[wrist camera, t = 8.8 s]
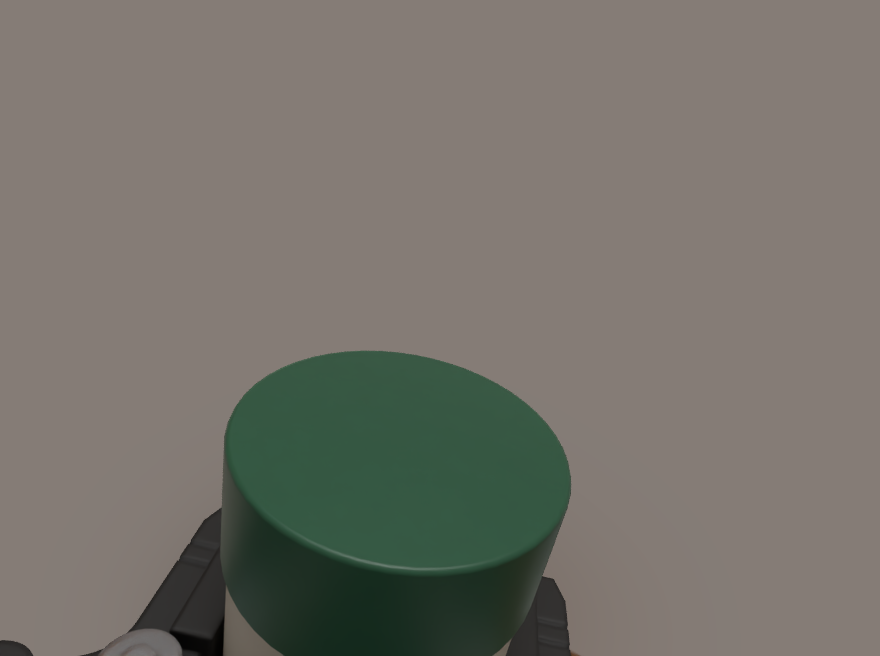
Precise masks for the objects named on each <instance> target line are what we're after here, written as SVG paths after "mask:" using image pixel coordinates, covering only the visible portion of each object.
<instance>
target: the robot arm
mask: <svg viewBox="0 0 880 656" xmlns="http://www.w3.org/2000/svg"><path fill="white" fill-rule="evenodd" d="M221 517H222V508H220V509H219V510H218V511H216V512H215V513H213V514H212V515H211V516H209V517H208V518H207V519H205V520H204V521H203V523H202V525H201V526H200V527H199V529H198V530H197V532H196V533H195V535H194V536H193V538H192V539H191V542H190V544H188V545H187V547H186V548H185V550H184V551H183V553H182V554H181V556H180V559H179V561H177V562H176V563H175V565H174V566H173V568H172V570H171V571H170V572H169V574H168V575H167V577H166V579H165V580H164V581H163V583H162V585H161V586H160V588H159V589H158V591H157V592H156V594H155V595H154V597H153V598H152V600H151V601H150V603H149V604H148V606H147V607H146V609H145V610H144V612H143V613H142V615H141V616H140V618H139V619H138V621H137V622H136V623H135V625H134V626H133V627H132V628H131V629H130V630H129V631H128V632H127V633H126V634H124V635H122V636H120V637H118V638H117V639H115V640H114V641H112V642H111V643H109V644H108V645H107V646H106V647H105V648H104V649H102V650H99V651H97V652H94V653H90V654H86V655H82V656H223V645H224V622H225V599H226V583H225V580H224V577H223V572H222V566H221V559H220V547H221ZM567 626H568V623H567V613H566V604H565V600H564V598H563V596H562V594H561V592H560V590H559V588H558V586H557V585H556V583H555V581H554V579H551V578H547V577H543V576H542V578H541V581H540V583H539V586H538V589H537V592H536V594H535V597H534V600H533V602H532V605H531V607H530V609H529V612H528V614H527V616H526V618H525V620H524V622H523V623H522V625H521V626H520V628H519V629H518V631H517V632H516V634H515V635H514V636H513V637H512V639H511V642H510V645H509V647H508V650H507V653H506V656H571V653H570V650H569V645H570V643H569V633H568V630H567ZM0 656H33V654H32V653H31V651H30V650H29V649H28V648H27V647H26V646H25V645H23V644H21V643H18V642H14V641H5V640H2V641H0Z"/></svg>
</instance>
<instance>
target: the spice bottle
mask: <svg viewBox="0 0 880 656" xmlns="http://www.w3.org/2000/svg"><path fill="white" fill-rule="evenodd" d="M570 494H571V476H570V470H569V465H568V461H567V458H566V455H565V453H564V450H563V447H562V446H561V444H560V442H559V440H558V439H557V437H556V435H555V434H554V432H553V431H552V430H551V428H550V427H549V426H548V424H547V423H546V422H545V421H544V420H543V419H542V418H541V417H540V416H539V415H538V414H537V412H535V411H534V410H533V409H532V408H531V407H530V406H529V405H528V404H526V403H525V402H524V401H522V400H521V399H520V398H518V397H517V396H516V395H514V394H513V393H512V392H510V391H508V390H507V389H505V388H503V387H502V386H500V385H499V384H497V383H495V382H493V381H491V380H489V379H487V378H485V377H483V376H481V375H479V374H476V373H474V372H472V371H469V370H467V369H464V368H461V367H458V366H456V365H453V364H450V363H446V362H443V361H439V360H435V359H432V358H427V357H422V356H418V355H412V354H405V353H398V352H386V351H350V352H339V353H331V354H325V355H320V356H316V357H311V358H308V359H304V360H301V361H298V362H295V363H292V364H290V365H287V366H285V367H283V368H280V369H279V370H277V371H275V372H273V373H271V374H269V375H268V376H266V377H265V378H263V379H262V380H261V381H259V382H258V383H256V384H255V385H254V386H253V387H252V388H251V389H250V390H249V391H248V392H247V393H246V394H245V395H244V396H243V397H242V399H241V400H240V401H239V403H238V404H237V406H236V407H235V409H234V411H233V413H232V415H231V417H230V419H229V421H228V424H227V428H226V433H225V436H224V463H223V490H222V517H221V547H220V559H221V566H222V572H223V577H224V580H225V583H226V599H225V622H224V645H223V656H506V653H507V650H508V647H509V645H510V642H511V639H512V637H513V636H514V635H515V634H516V632H517V631H518V629H519V628H520V626H521V625H522V623H523V622H524V620H525V618H526V616H527V614H528V612H529V609H530V607H531V605H532V602H533V600H534V597H535V594H536V592H537V589H538V586H539V583H540V581H541V578H542V575H543V573H544V570H545V567H546V564H547V562H548V559H549V556H550V554H551V551H552V548H553V546H554V543H555V540H556V537H557V534H558V532H559V529H560V527H561V524H562V521H563V518H564V516H565V513H566V510H567V507H568V503H569V499H570Z"/></svg>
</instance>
